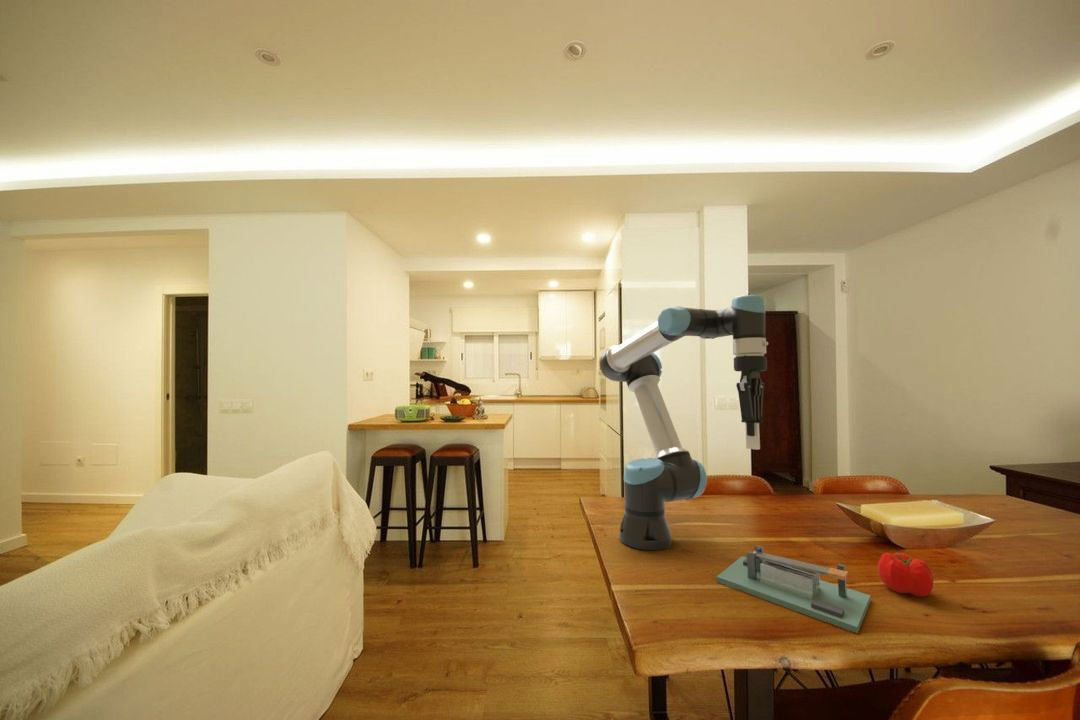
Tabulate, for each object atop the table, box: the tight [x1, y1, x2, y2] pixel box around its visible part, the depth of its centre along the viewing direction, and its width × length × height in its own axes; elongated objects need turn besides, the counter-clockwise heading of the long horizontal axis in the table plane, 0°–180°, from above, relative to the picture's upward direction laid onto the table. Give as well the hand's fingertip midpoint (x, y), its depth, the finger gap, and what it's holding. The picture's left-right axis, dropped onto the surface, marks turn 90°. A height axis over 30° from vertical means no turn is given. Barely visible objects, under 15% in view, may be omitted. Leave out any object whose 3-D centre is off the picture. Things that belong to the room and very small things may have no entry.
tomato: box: [877, 552, 934, 597], centre depth 87 cm, size 9×9×8 cm
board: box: [716, 555, 872, 634], centre depth 87 cm, size 26×16×2 cm, turn 43°
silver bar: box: [746, 544, 848, 600], centre depth 87 cm, size 17×8×6 cm, turn 43°
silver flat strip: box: [753, 549, 850, 582], centre depth 87 cm, size 18×3×1 cm, turn 43°
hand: (753, 448), depth 98 cm, fingers closed
